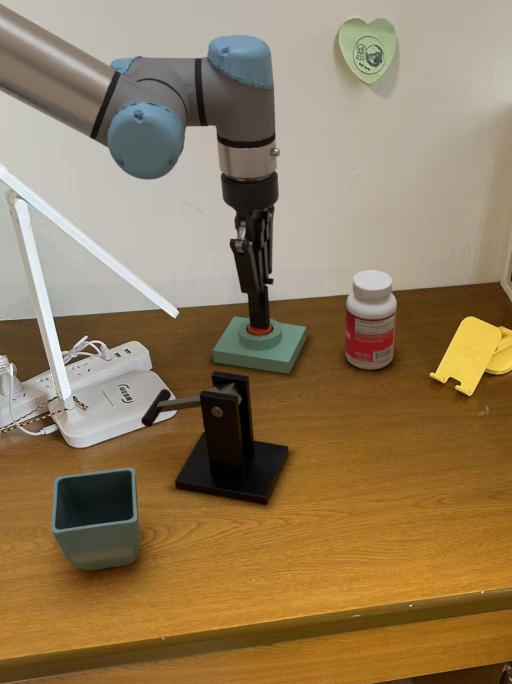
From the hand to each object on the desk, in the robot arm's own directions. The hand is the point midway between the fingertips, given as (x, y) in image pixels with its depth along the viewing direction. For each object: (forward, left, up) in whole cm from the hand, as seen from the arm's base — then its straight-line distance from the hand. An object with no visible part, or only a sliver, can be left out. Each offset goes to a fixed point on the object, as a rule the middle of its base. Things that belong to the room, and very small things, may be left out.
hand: (260, 325), depth 118 cm
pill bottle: (+15, +8, -5) cm, 18 cm away
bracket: (+14, -24, -5) cm, 28 cm away
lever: (+10, -25, +5) cm, 28 cm away
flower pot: (+11, -43, -5) cm, 45 cm away
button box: (0, 0, -5) cm, 5 cm away
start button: (0, 0, -2) cm, 2 cm away
